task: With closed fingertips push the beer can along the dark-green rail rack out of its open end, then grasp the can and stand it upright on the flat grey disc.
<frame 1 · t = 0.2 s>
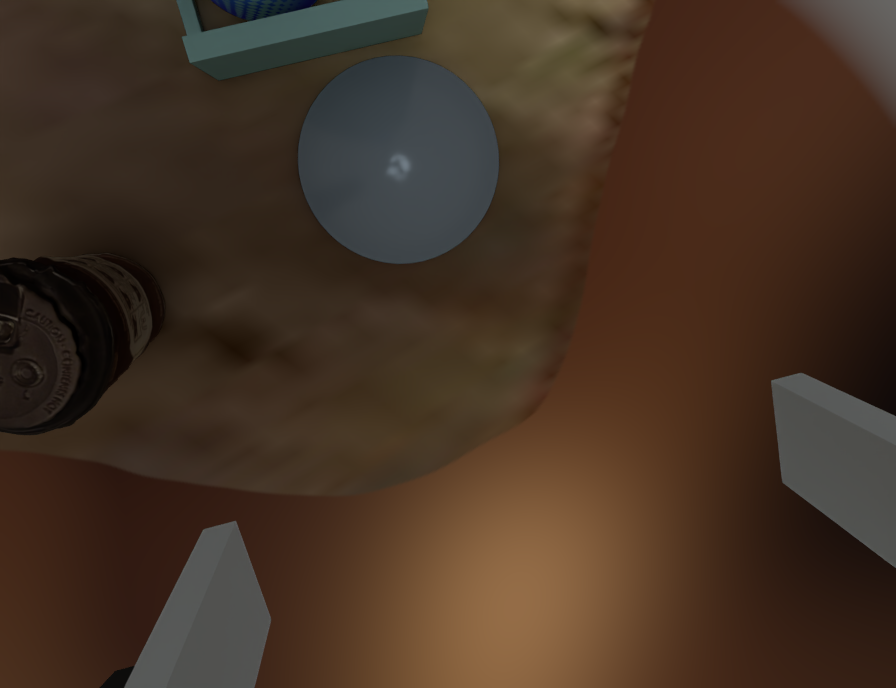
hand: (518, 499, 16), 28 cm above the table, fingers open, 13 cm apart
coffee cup: (114, 301, 41), on the table
flat grey disc: (399, 163, 40), on the table
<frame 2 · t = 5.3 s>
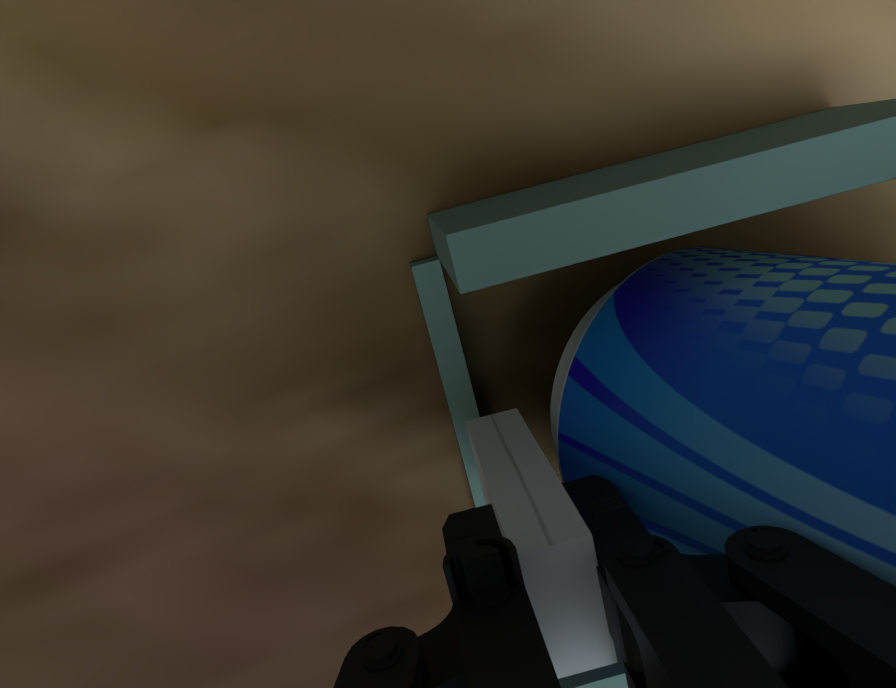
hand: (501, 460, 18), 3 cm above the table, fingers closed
beer can: (641, 389, 19), point 1 cm above the table, touching gripper, hand
rack: (665, 362, 20), on the table
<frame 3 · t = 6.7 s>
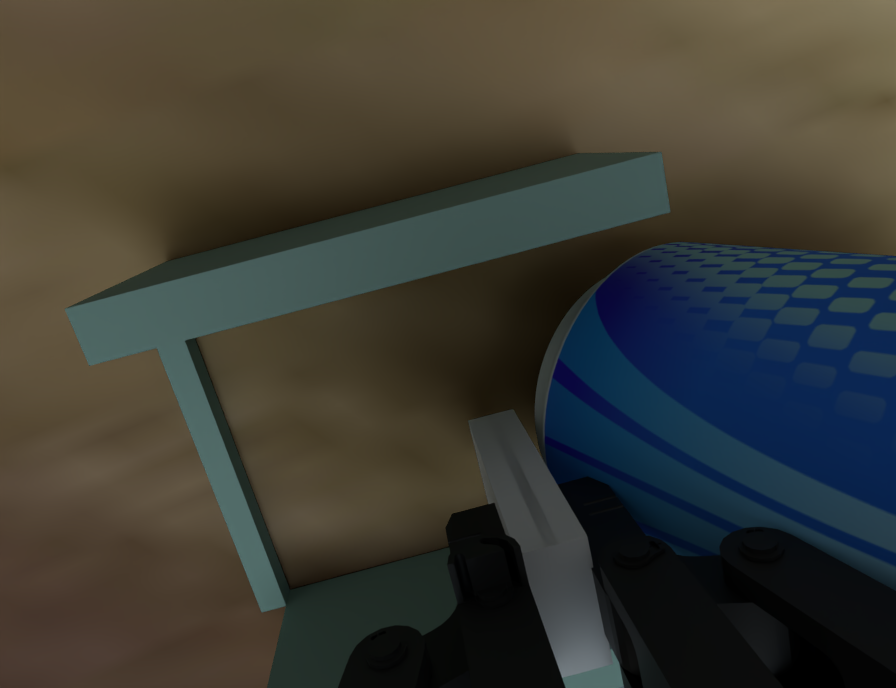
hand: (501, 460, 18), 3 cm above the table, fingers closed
beer can: (623, 386, 19), point 2 cm above the table, touching gripper, hand
rack: (428, 405, 20), on the table
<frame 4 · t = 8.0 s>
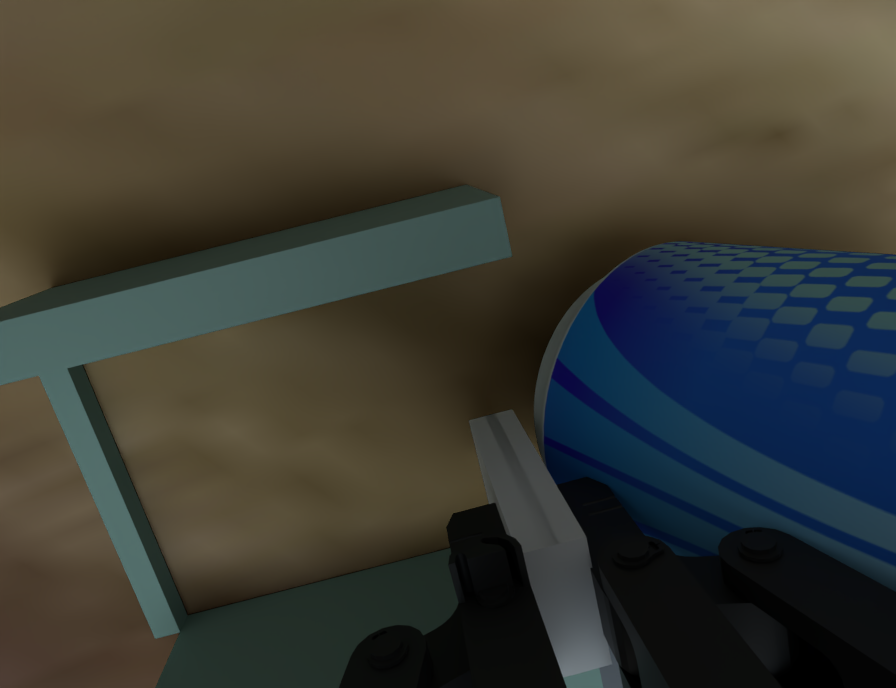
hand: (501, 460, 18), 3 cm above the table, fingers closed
beer can: (622, 385, 19), point 2 cm above the table, touching gripper, hand
rack: (322, 433, 20), on the table
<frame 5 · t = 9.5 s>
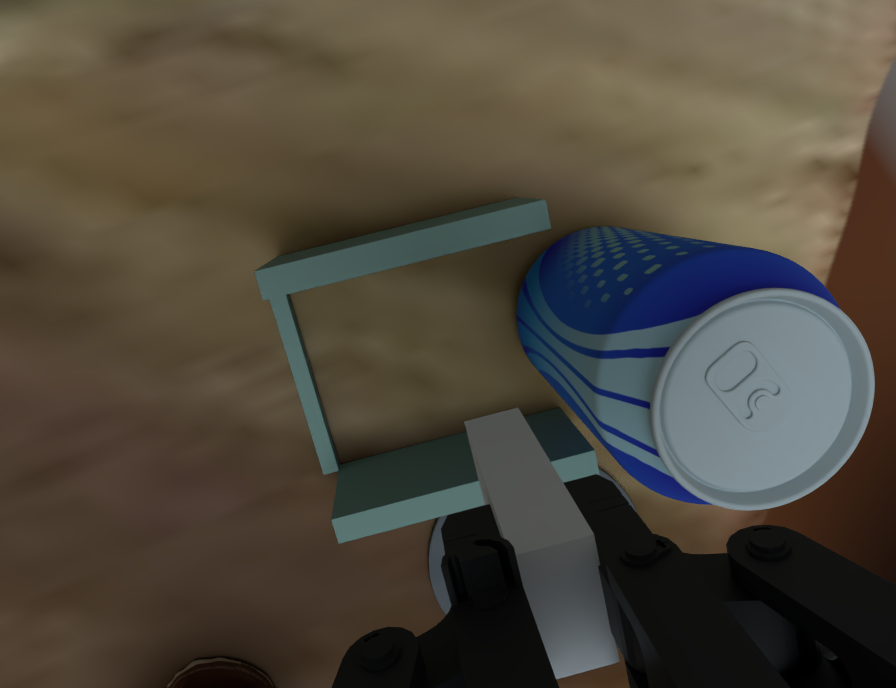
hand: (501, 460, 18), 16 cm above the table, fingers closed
beer can: (590, 306, 34), on the table
rack: (428, 346, 34), on the table
flat grey disc: (535, 552, 37), on the table
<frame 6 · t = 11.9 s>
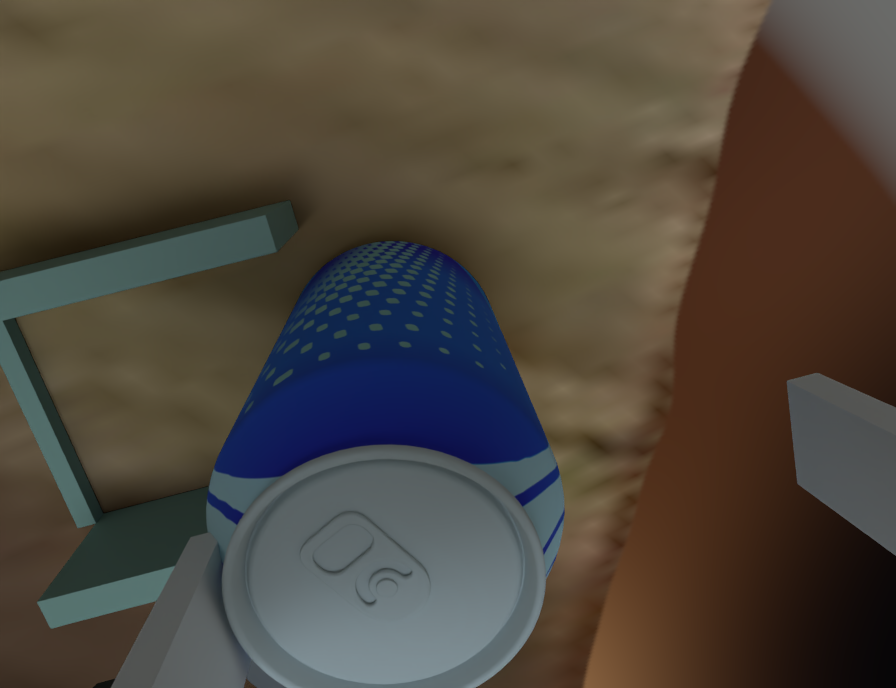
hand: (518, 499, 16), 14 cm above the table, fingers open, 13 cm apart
beer can: (394, 330, 29), on the table, touching gripper
rack: (196, 378, 28), on the table
flat grey disc: (348, 606, 32), on the table
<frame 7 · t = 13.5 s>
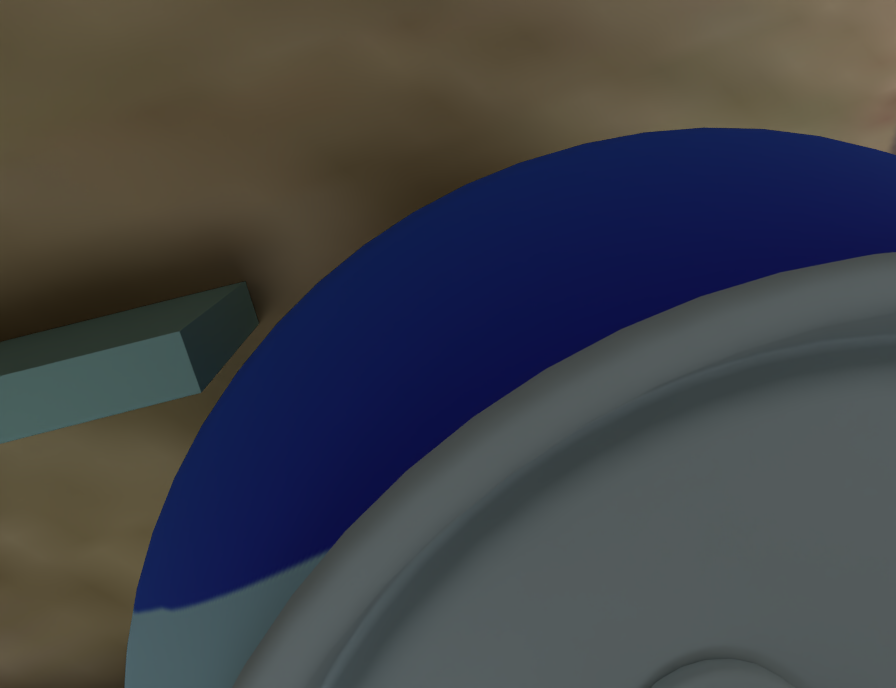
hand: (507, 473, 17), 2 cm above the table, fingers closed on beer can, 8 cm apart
beer can: (485, 389, 19), on the table, touching gripper
rack: (107, 539, 19), on the table
when the fingers open (5 cm above the table, at t = 19.0 s): beer can drops 2 cm, resting on flat grey disc.
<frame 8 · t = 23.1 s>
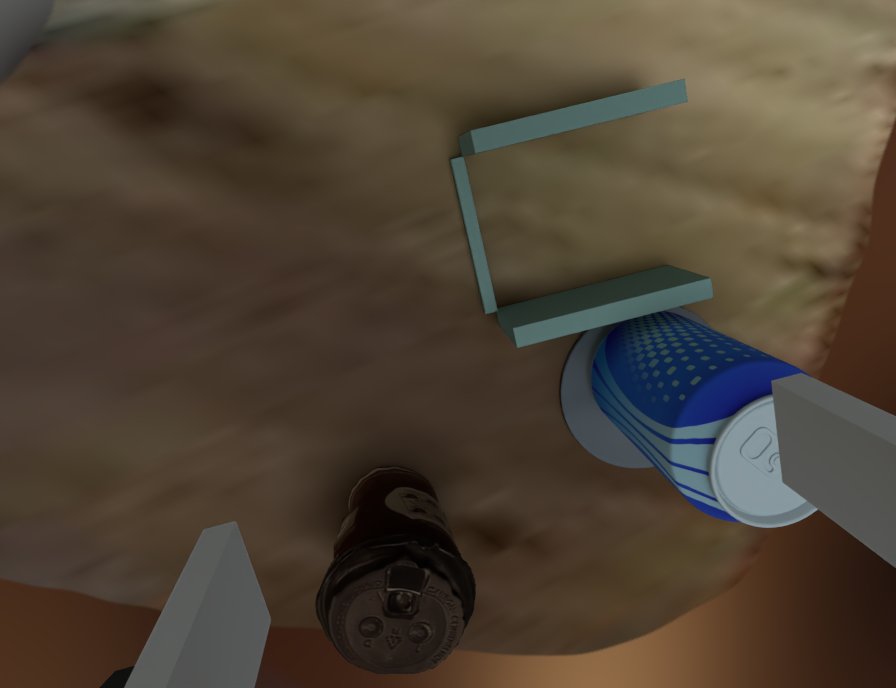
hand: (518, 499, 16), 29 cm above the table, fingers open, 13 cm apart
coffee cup: (394, 503, 47), on the table
beer can: (643, 366, 46), resting on flat grey disc
rack: (568, 212, 43), on the table
flat grey disc: (643, 385, 47), on the table
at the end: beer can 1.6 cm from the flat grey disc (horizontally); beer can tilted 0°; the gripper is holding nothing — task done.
